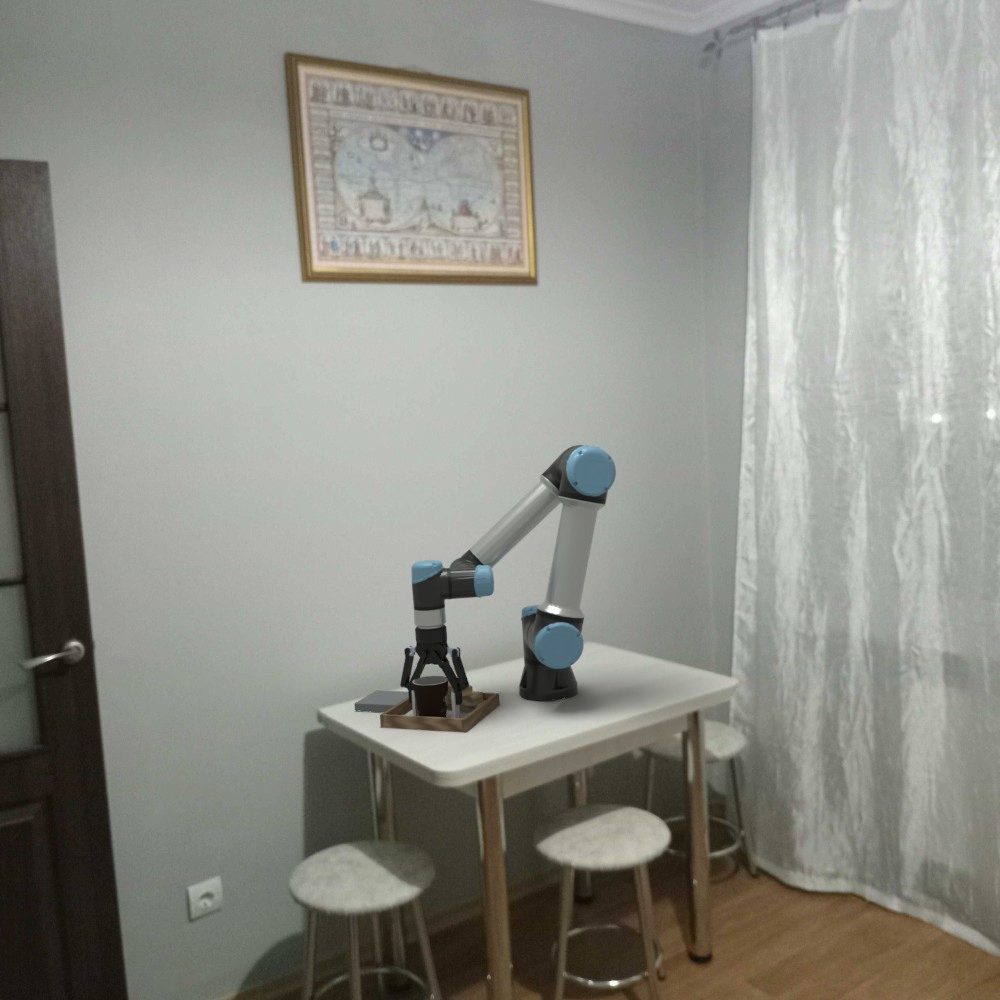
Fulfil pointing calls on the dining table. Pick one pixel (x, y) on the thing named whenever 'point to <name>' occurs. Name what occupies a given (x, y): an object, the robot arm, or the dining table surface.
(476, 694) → the offcut board pine
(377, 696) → the plate
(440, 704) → the coffee mug
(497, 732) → the dining table surface
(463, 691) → the offcut board beech
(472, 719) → the wooden tray
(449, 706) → the offcut board oak
